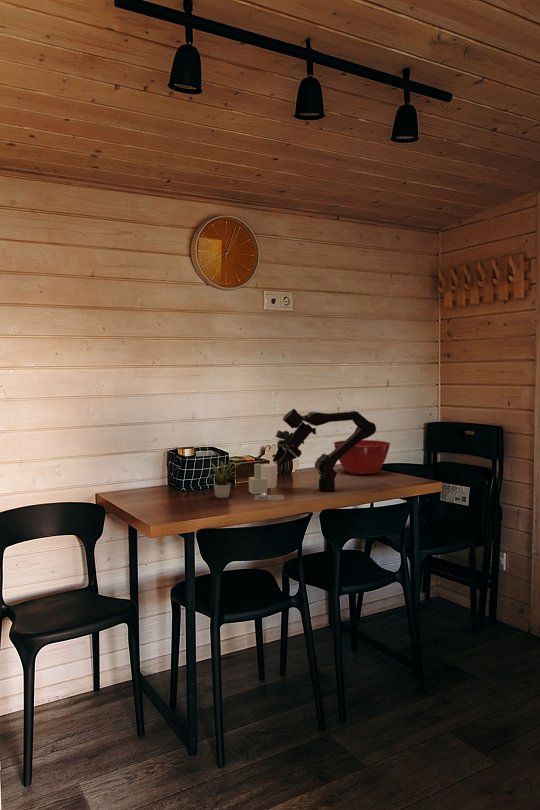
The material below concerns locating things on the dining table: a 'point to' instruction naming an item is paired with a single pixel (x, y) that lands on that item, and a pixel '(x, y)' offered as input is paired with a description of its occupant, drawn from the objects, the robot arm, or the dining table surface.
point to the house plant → (222, 480)
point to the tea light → (263, 495)
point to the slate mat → (269, 497)
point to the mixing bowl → (364, 456)
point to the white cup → (269, 474)
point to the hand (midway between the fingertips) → (276, 463)
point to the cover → (257, 481)
